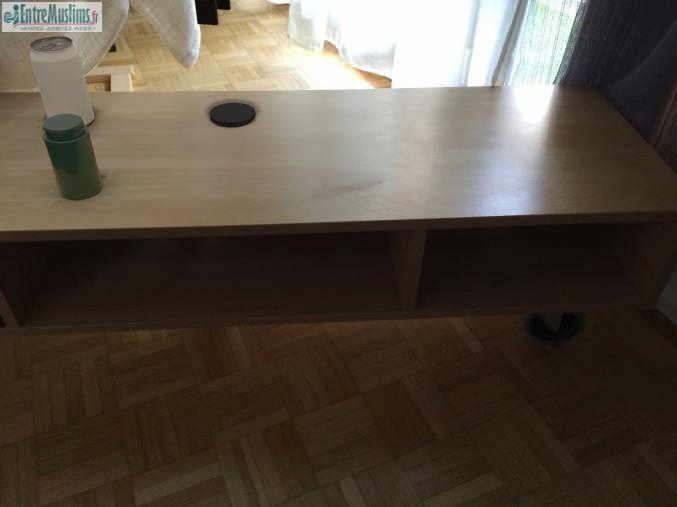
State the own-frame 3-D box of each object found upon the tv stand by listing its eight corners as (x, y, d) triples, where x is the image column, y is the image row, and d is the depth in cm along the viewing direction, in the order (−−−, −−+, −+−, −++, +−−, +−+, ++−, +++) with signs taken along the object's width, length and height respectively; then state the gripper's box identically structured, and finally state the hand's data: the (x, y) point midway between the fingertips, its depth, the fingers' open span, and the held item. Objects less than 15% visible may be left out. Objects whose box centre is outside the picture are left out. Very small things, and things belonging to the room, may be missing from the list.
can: (103, 116, 94) (85, 38, 87) (76, 134, 89) (54, 54, 82) (68, 109, 96) (48, 32, 88) (40, 126, 91) (15, 46, 83)
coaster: (204, 125, 93) (204, 120, 92) (216, 105, 98) (216, 100, 98) (249, 128, 92) (249, 124, 92) (259, 108, 98) (259, 103, 97)
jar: (52, 198, 77) (30, 130, 71) (71, 176, 81) (51, 110, 75) (92, 201, 76) (73, 133, 70) (109, 179, 80) (93, 113, 74)
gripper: (201, -186, 62) (223, 42, 77) (245, -195, 77) (256, -3, 91) (130, -188, 63) (165, 38, 77) (186, -198, 77) (207, -6, 92)
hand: (214, 15), depth 84 cm, fingers closed on jar lid, 6 cm apart
